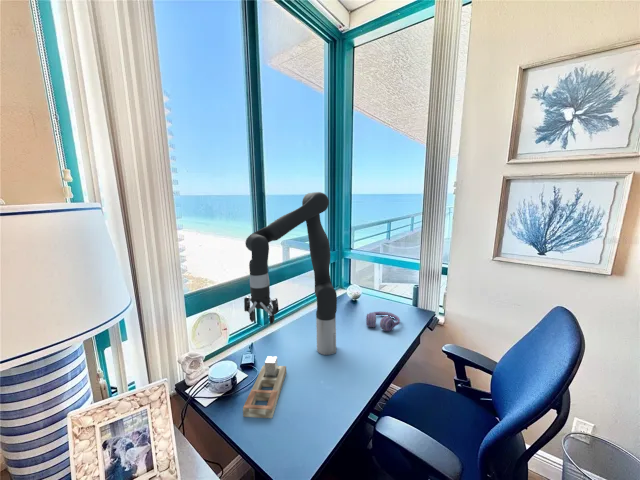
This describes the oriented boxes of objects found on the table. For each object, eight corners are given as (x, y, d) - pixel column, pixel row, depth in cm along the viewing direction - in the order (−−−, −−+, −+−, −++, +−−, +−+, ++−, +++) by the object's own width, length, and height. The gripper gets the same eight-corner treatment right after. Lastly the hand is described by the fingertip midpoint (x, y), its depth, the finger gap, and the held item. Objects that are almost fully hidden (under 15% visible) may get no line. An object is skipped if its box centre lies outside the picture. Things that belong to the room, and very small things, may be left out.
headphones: (393, 335, 136) (402, 325, 153) (394, 320, 135) (403, 311, 152) (360, 327, 145) (373, 318, 162) (361, 312, 145) (374, 305, 162)
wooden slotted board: (286, 372, 110) (286, 365, 109) (272, 418, 87) (271, 409, 86) (263, 371, 110) (263, 364, 110) (243, 416, 88) (242, 408, 87)
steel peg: (278, 376, 107) (277, 356, 106) (275, 383, 103) (274, 362, 102) (268, 376, 108) (267, 356, 106) (265, 382, 104) (264, 362, 102)
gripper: (280, 282, 105) (282, 319, 107) (248, 280, 109) (251, 316, 111) (271, 288, 98) (273, 328, 100) (238, 286, 102) (241, 324, 104)
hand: (262, 322), depth 106 cm, fingers open, 8 cm apart
